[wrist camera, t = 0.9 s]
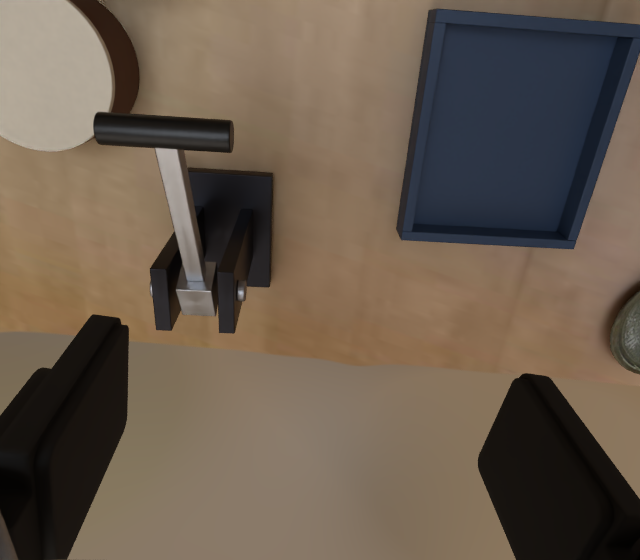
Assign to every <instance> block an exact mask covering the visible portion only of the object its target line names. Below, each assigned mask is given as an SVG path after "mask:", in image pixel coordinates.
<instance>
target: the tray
mask: <svg viewBox="0 0 640 560" xmlns="http://www.w3.org/2000/svg"><path fill="white" fill-rule="evenodd" d="M639 53H640V25H639V24H626V23H613V22H601V21H588V20H575V19H562V18H550V17H537V16H524V15H512V14H499V13H486V12H473V11H461V10H448V9H433V10H429V12H428V18H427V25H426V32H425V39H424V45H423V52H422V59H421V66H420V72H419V79H418V86H417V93H416V99H415V106H414V113H413V119H412V126H411V133H410V140H409V146H408V153H407V160H406V167H405V173H404V180H403V187H402V193H401V200H400V207H399V214H398V220H397V227H396V230H397V232H398V234H399V236H400V238H401V240H410V241H428V242H447V243H466V244H484V245H503V246H521V247H540V248H559V249H574V247H575V244H576V240H577V238H578V235H579V232H580V229H581V226H582V223H583V220H584V217H585V214H586V211H587V208H588V205H589V202H590V199H591V196H592V193H593V190H594V187H595V184H596V181H597V178H598V175H599V172H600V169H601V166H602V163H603V160H604V157H605V154H606V151H607V148H608V145H609V142H610V139H611V136H612V133H613V130H614V127H615V124H616V121H617V118H618V115H619V113H620V110H621V107H622V104H623V101H624V98H625V95H626V92H627V89H628V86H629V83H630V80H631V77H632V74H633V71H634V68H635V65H636V62H637V59H638V56H639Z"/></svg>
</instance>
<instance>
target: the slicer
mask: <svg viewBox="0 0 640 560" xmlns="http://www.w3.org/2000/svg"><path fill="white" fill-rule="evenodd" d="M187 169H188V174H189V180H190V185H191V190H192V196H193V201H194V207H195V212H196V217H197V223H198V228H199V234H200V239H201V244H202V250H203V255H204V260H205V262H217V268H218V271H217V284H218V314H219V333H235V330H236V325H237V321H238V317H239V313H240V309H241V305H242V301H245V299H246V291H247V286H251V287H270V282H271V242H272V198H273V173H266V172H250V171H233V170H216V169H200V168H187ZM181 265H182V259H181V255H180V251H179V247H178V243H177V239H176V235H175V231H174V233H173V234H172V236H171V238H170V239H169V241H168V242H167V244H166V245H165V247H164V248H163V250H162V251H161V253H160V254H159V256H158V257H157V259H156V260H155V262H154V263H153V265H152V266H151V268H150V276H151V282H150V294H151V296H152V297H153V304H154V314H155V323H156V330H168V331H171V330H172V329H173V326H174V324H175V322H176V320H177V317H178V315H179V313H180V311H181V307H180V303H179V300H178V296H177V293H176V286H177V282H178V278H179V273H180V269H181Z"/></svg>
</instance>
